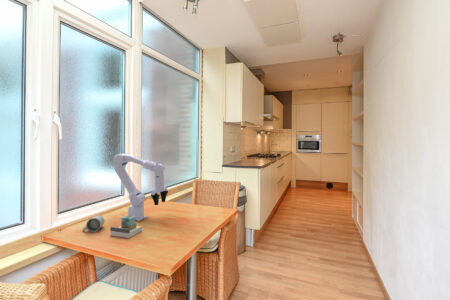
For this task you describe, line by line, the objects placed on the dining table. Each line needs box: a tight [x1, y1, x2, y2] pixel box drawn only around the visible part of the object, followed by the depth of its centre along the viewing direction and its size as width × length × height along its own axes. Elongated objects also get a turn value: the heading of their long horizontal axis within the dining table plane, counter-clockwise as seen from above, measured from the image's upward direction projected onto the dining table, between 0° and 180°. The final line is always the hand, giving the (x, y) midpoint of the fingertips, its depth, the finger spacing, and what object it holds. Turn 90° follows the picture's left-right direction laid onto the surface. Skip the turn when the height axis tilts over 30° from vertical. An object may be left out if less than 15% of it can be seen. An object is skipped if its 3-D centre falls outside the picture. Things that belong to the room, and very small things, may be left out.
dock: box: [109, 225, 142, 239], centre depth 127 cm, size 12×10×4 cm
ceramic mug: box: [82, 214, 105, 233], centre depth 133 cm, size 11×8×8 cm
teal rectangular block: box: [120, 215, 137, 230], centre depth 128 cm, size 7×4×6 cm, turn 71°
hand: (160, 203), depth 150 cm, fingers open, 7 cm apart
